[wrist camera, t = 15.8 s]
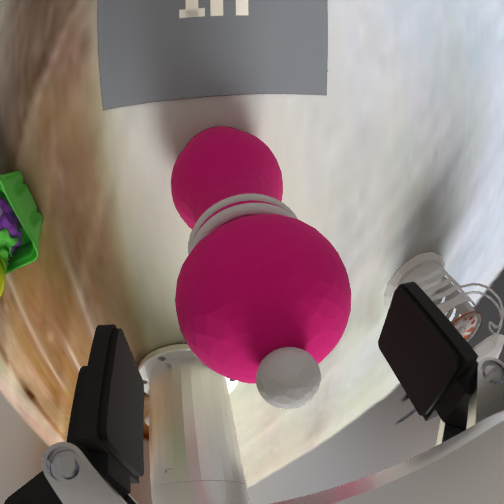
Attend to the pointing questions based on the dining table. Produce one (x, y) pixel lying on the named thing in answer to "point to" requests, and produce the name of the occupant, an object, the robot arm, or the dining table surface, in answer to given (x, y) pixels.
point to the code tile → (210, 49)
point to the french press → (448, 299)
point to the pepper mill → (254, 271)
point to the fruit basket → (17, 225)
